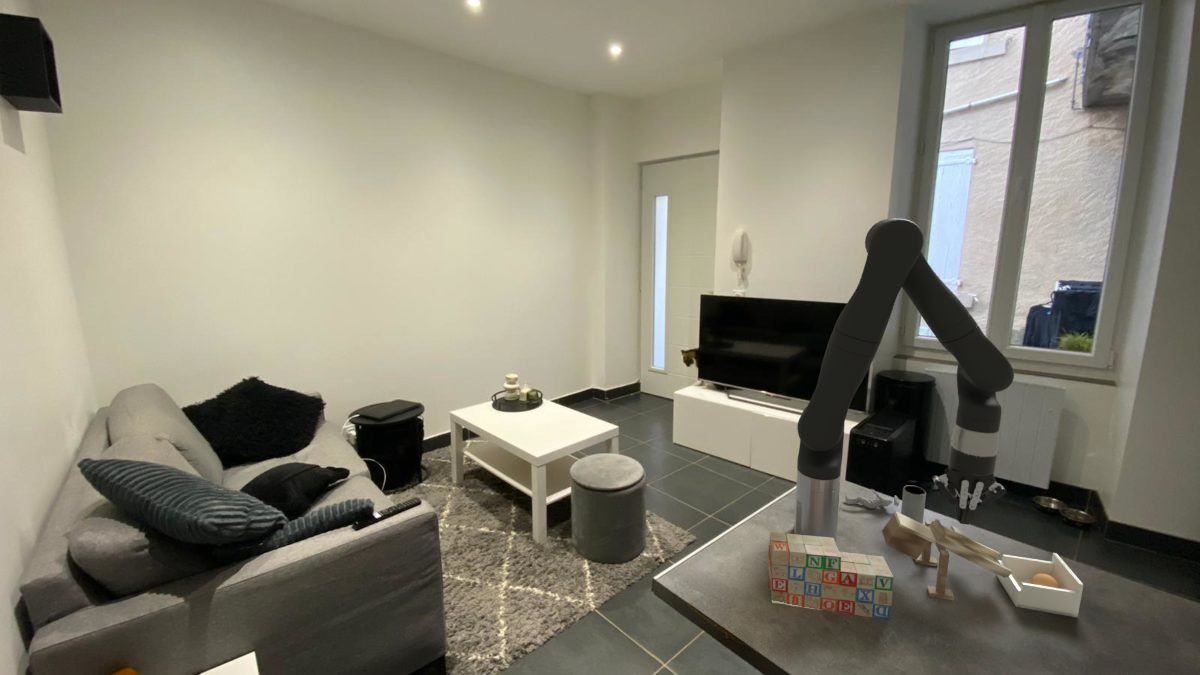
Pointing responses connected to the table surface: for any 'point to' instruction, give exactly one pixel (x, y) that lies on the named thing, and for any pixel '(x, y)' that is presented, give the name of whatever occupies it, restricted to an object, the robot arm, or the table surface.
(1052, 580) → the ball
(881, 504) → the soldier figure
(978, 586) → the table surface
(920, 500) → the planter
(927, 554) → the lever stand
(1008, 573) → the lever
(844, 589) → the stack of blocks
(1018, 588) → the white open box
